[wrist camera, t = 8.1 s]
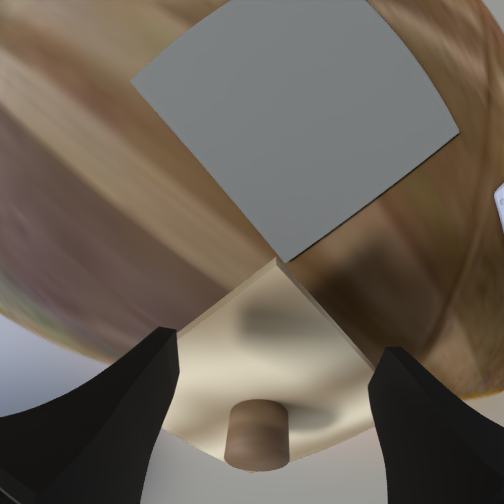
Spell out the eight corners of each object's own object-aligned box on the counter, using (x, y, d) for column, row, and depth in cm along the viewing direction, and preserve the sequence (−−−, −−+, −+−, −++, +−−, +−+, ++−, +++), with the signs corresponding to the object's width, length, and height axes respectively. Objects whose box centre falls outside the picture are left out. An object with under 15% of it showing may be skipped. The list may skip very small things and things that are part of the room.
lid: (402, 399, 14) (420, 444, 10) (251, 465, 18) (248, 503, 14) (275, 256, 11) (279, 310, 7) (112, 380, 15) (88, 424, 11)
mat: (456, 131, 14) (459, 131, 14) (284, 261, 19) (285, 263, 18) (315, -39, 10) (316, -41, 10) (132, 83, 15) (129, 82, 14)
